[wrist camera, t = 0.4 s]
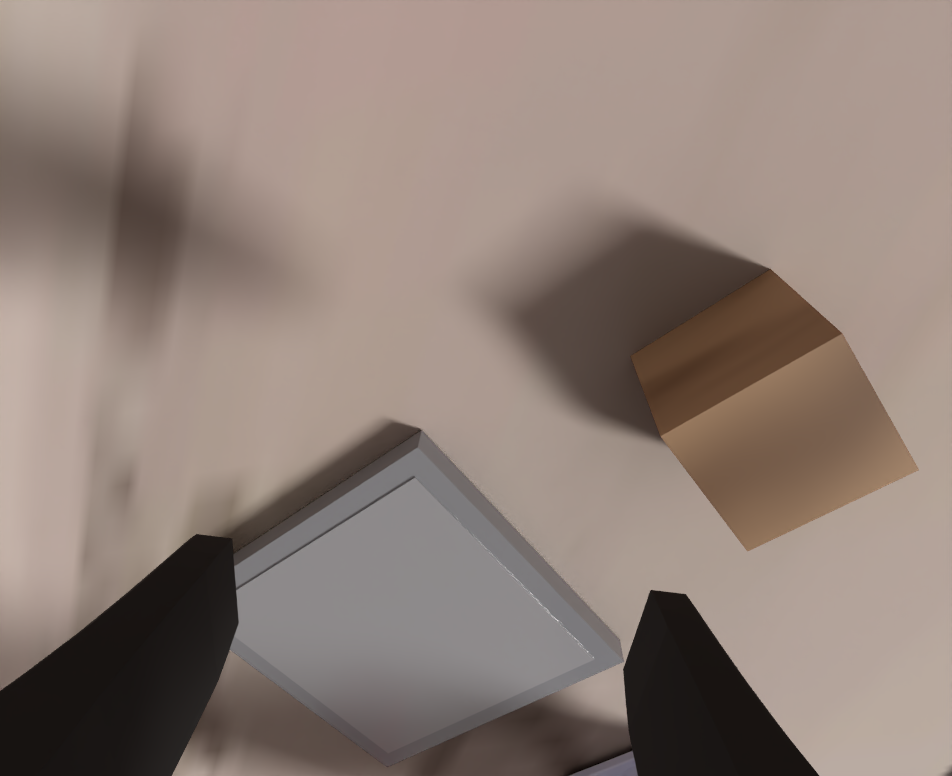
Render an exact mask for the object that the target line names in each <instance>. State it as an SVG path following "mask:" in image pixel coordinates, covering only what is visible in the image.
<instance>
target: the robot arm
mask: <svg viewBox="0 0 952 776" xmlns="http://www.w3.org/2000/svg"><path fill="white" fill-rule="evenodd" d="M238 624H239V619H238V607H237V594H236V582H235V569H234V557H233V545H232V539H231V538H223V537H215V536H207V535H199V534H196V535H195V536H193V537H192V538H190V539H189V540H188V541H187V542H186V543H184V544H183V545H182V546H181V547H180V548H179V549H177V550H176V551H175V552H174V553H173V554H172V555H171V556H169V557H168V558H167V559H166V560H165V561H164V562H163V563H161V564H160V565H159V566H158V567H157V568H156V569H154V570H153V571H152V572H151V573H150V574H149V575H148V576H146V577H145V578H144V579H143V580H142V581H140V582H139V583H138V584H137V585H136V586H135V587H133V588H132V589H131V590H130V591H129V592H128V593H126V594H125V595H124V596H123V597H122V598H120V599H119V600H118V601H117V602H115V603H114V604H113V605H112V606H111V607H109V608H108V609H107V610H106V611H104V612H103V613H102V614H101V615H100V616H98V617H97V618H96V619H95V620H93V621H92V622H91V623H90V624H89V625H87V626H86V627H85V628H84V629H82V630H81V631H80V632H79V633H77V634H76V635H75V636H73V637H72V638H71V639H70V640H68V641H67V642H66V643H64V644H63V645H62V646H60V647H59V648H58V649H56V650H55V651H54V652H52V653H51V654H50V655H48V656H47V657H46V658H44V659H43V660H42V661H40V662H39V663H38V664H36V665H35V666H34V667H32V668H31V669H30V670H28V671H27V672H26V673H24V674H23V675H22V676H20V677H19V678H18V679H16V680H15V681H13V682H12V683H11V684H9V685H8V686H6V687H5V688H3V689H2V690H1V691H0V776H172V774H173V772H174V770H175V768H176V766H177V764H178V762H179V760H180V758H181V756H182V754H183V752H184V750H185V748H186V746H187V744H188V742H189V740H190V738H191V736H192V734H193V732H194V730H195V728H196V726H197V724H198V721H199V719H200V717H201V715H202V713H203V711H204V709H205V707H206V705H207V703H208V701H209V699H210V697H211V695H212V693H213V691H214V688H215V686H216V684H217V682H218V680H219V677H220V674H221V672H222V669H223V666H224V664H225V661H226V658H227V655H228V653H229V650H230V647H231V644H232V641H233V638H234V635H235V632H236V630H237V627H238ZM623 671H624V684H625V696H626V708H627V718H628V728H629V734H630V739H631V745H632V750H633V751H630V752H628V753H625V754H623V755H620V756H618V757H615V758H613V759H610V760H608V761H605V762H602V763H600V764H597V765H595V766H592V767H590V768H587V769H585V770H582V771H579V772H577V773H574V774H572V775H569V776H819V775H818V774H817V772H816V771H815V770H814V769H813V767H812V766H811V765H810V764H809V762H808V761H807V760H806V759H805V757H804V756H803V755H802V754H801V753H800V751H799V750H798V749H797V748H796V746H795V745H794V744H793V743H792V741H791V740H790V739H789V737H788V736H787V735H786V734H785V732H784V731H783V730H782V728H781V727H780V726H779V725H778V723H777V722H776V721H775V719H774V718H773V717H772V715H771V714H770V713H769V711H768V710H767V708H766V707H765V706H764V704H763V703H762V702H761V700H760V699H759V698H758V696H757V695H756V694H755V692H754V691H753V690H752V688H751V687H750V686H749V684H748V683H747V681H746V680H745V679H744V677H743V676H742V674H741V673H740V672H739V670H738V669H737V667H736V666H735V665H734V663H733V662H732V660H731V659H730V657H729V656H728V655H727V653H726V652H725V650H724V649H723V647H722V646H721V644H720V643H719V642H718V640H717V639H716V637H715V636H714V634H713V633H712V631H711V630H710V628H709V627H708V625H707V624H706V623H705V621H704V620H703V618H702V617H701V615H700V614H699V612H698V611H697V609H696V608H695V607H694V605H693V604H692V602H691V601H690V599H689V598H688V597H687V595H686V594H679V593H671V592H663V591H655V590H650V593H649V596H648V599H647V602H646V605H645V608H644V611H643V614H642V617H641V620H640V622H639V625H638V628H637V631H636V634H635V637H634V640H633V643H632V646H631V649H630V651H629V654H628V657H627V660H626V663H625V666H624V669H623Z"/></svg>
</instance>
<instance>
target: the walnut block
mask: <svg viewBox="0 0 952 776" xmlns="http://www.w3.org/2000/svg"><path fill="white" fill-rule="evenodd" d="M630 357H631V359H632V362H633V365H634V367H635V370H636V373H637V375H638V378H639V381H640V383H641V386H642V389H643V391H644V394H645V397H646V399H647V402H648V405H649V407H650V410H651V412H652V415H653V418H654V420H655V423H656V426H657V428H658V431H659V434H660V436H661V438H662V439H663V440H664V442H665V443H666V444H667V446H668V447H669V448H670V450H671V451H672V452H673V454H674V455H675V456H676V458H677V459H678V460H679V462H680V463H681V464H682V465H683V467H684V468H685V469H686V471H687V472H688V473H689V475H690V476H691V477H692V479H693V480H694V481H695V483H696V484H697V485H698V487H699V488H700V489H701V491H702V492H703V493H704V495H705V496H706V497H707V499H708V500H709V501H710V503H711V504H712V505H713V506H714V508H715V509H716V510H717V512H718V513H719V514H720V516H721V517H722V518H723V520H724V521H725V522H726V524H727V525H728V526H729V528H730V529H731V530H732V532H733V533H734V534H735V536H736V537H737V538H738V540H739V541H740V542H741V544H742V545H743V546H744V547H745V549H746V550H747V551H750V550H752V549H754V548H756V547H758V546H760V545H762V544H764V543H766V542H768V541H771V540H773V539H775V538H777V537H779V536H781V535H783V534H785V533H787V532H789V531H792V530H794V529H796V528H798V527H800V526H802V525H804V524H806V523H808V522H810V521H813V520H815V519H817V518H819V517H821V516H823V515H825V514H827V513H829V512H832V511H834V510H836V509H838V508H840V507H842V506H844V505H846V504H848V503H850V502H853V501H855V500H857V499H859V498H861V497H863V496H865V495H867V494H869V493H871V492H874V491H876V490H878V489H880V488H882V487H884V486H886V485H888V484H890V483H892V482H895V481H897V480H899V479H901V478H903V477H905V476H907V475H909V474H911V473H913V472H916V471H918V470H919V469H918V467H917V465H916V464H915V462H914V460H913V458H912V456H911V455H910V453H909V451H908V449H907V448H906V446H905V444H904V442H903V440H902V439H901V437H900V435H899V433H898V432H897V430H896V428H895V426H894V424H893V423H892V421H891V419H890V417H889V416H888V414H887V412H886V410H885V408H884V407H883V405H882V403H881V401H880V400H879V398H878V396H877V394H876V392H875V391H874V389H873V387H872V385H871V384H870V382H869V380H868V378H867V376H866V375H865V373H864V371H863V369H862V368H861V366H860V364H859V362H858V360H857V359H856V357H855V355H854V353H853V352H852V350H851V348H850V346H849V344H848V343H847V341H846V339H845V337H844V336H843V334H842V333H841V332H840V331H839V330H838V329H837V328H836V327H835V326H833V325H832V324H831V323H830V322H829V321H828V320H827V319H826V318H825V317H823V316H822V315H821V314H820V313H819V312H818V311H817V310H816V309H815V308H813V307H812V306H811V305H810V304H809V303H808V302H807V301H806V300H804V299H803V298H802V297H801V296H800V295H799V294H798V293H797V292H796V291H794V290H793V289H792V288H791V287H790V286H789V285H788V284H787V283H786V282H784V281H783V280H782V279H781V278H780V277H779V276H778V275H777V274H776V273H774V272H773V271H772V270H771V269H770V270H768V271H766V272H765V273H763V274H762V275H760V276H758V277H757V278H755V279H754V280H752V281H750V282H749V283H747V284H746V285H744V286H742V287H741V288H739V289H738V290H736V291H734V292H733V293H731V294H730V295H728V296H726V297H725V298H723V299H721V300H720V301H718V302H717V303H715V304H713V305H712V306H710V307H709V308H707V309H705V310H704V311H702V312H701V313H699V314H697V315H696V316H694V317H693V318H691V319H689V320H688V321H686V322H685V323H683V324H681V325H680V326H678V327H676V328H675V329H673V330H672V331H670V332H668V333H667V334H665V335H664V336H662V337H660V338H659V339H657V340H656V341H654V342H652V343H651V344H649V345H648V346H646V347H644V348H643V349H641V350H639V351H638V352H636V353H635V354H633V355H631V356H630Z"/></svg>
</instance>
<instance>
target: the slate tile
mask: <svg viewBox="0 0 952 776" xmlns="http://www.w3.org/2000/svg"><path fill="white" fill-rule="evenodd" d="M233 557H234V569H235V582H236V594H237V607H238V619H239V624H238V627H237V630H236V632H235V635H234V638H233V641H232V644H231V647H230V650H231V651H232V652H234V653H235V654H236V655H238V656H239V657H240V658H242V659H243V660H244V661H246V662H247V663H248V664H250V665H251V666H252V667H254V668H255V669H256V670H258V671H259V672H260V673H262V674H263V675H264V676H266V677H267V678H268V679H270V680H271V681H272V682H274V683H275V684H276V685H278V686H279V687H281V688H282V689H283V690H285V691H286V692H287V693H289V694H290V695H291V696H293V697H294V698H295V699H297V700H298V701H299V702H301V703H302V704H303V705H305V706H306V707H307V708H309V709H310V710H311V711H313V712H314V713H315V714H317V715H318V716H319V717H321V718H322V719H323V720H325V721H326V722H327V723H329V724H330V725H331V726H333V727H334V728H335V729H337V730H338V731H339V732H341V733H342V734H343V735H345V736H346V737H347V738H349V739H350V740H351V741H353V742H354V743H355V744H357V745H358V746H359V747H361V748H362V749H363V750H365V751H366V752H367V753H369V754H370V755H371V756H373V757H374V758H375V759H377V760H378V761H379V762H381V763H382V764H383V765H385V766H386V767H389V766H391V765H393V764H395V763H398V762H400V761H402V760H404V759H407V758H409V757H411V756H413V755H416V754H418V753H420V752H422V751H425V750H427V749H429V748H431V747H434V746H436V745H438V744H440V743H442V742H445V741H447V740H449V739H451V738H454V737H456V736H458V735H460V734H463V733H465V732H467V731H469V730H472V729H474V728H476V727H478V726H481V725H483V724H485V723H487V722H490V721H492V720H494V719H496V718H499V717H501V716H503V715H505V714H507V713H510V712H512V711H514V710H516V709H519V708H521V707H523V706H525V705H528V704H530V703H532V702H534V701H537V700H539V699H541V698H543V697H546V696H548V695H550V694H552V693H555V692H557V691H559V690H561V689H564V688H566V687H568V686H570V685H572V684H575V683H577V682H579V681H581V680H584V679H586V678H588V677H590V676H593V675H595V674H597V673H599V672H602V671H604V670H606V669H608V668H611V667H613V666H615V665H617V664H620V663H622V662H624V660H623V654H622V649H621V643H620V639H619V638H618V637H617V636H616V635H615V634H614V633H613V632H612V631H611V630H610V629H609V628H608V627H607V626H606V625H605V624H604V622H603V621H602V620H601V619H600V618H599V617H598V616H597V615H596V614H595V613H594V612H593V611H592V610H591V609H590V608H589V607H588V606H587V604H586V603H585V602H584V601H583V600H582V599H581V598H580V597H579V596H578V595H577V594H576V593H575V592H574V591H573V590H572V589H571V588H570V586H569V585H568V584H567V583H566V582H565V581H564V580H563V579H562V578H561V577H560V576H559V575H558V574H557V573H556V572H555V571H554V570H553V568H552V567H551V566H550V565H549V564H548V563H547V562H546V561H545V560H544V559H543V558H542V557H541V556H540V555H539V554H538V553H537V552H536V550H535V549H534V548H533V547H532V546H531V545H530V544H529V543H528V542H527V541H526V540H525V539H524V538H523V537H522V536H521V535H520V534H519V532H518V531H517V530H516V529H515V528H514V527H513V526H512V525H511V524H510V523H509V522H508V521H507V520H506V519H505V518H504V517H503V516H502V514H501V513H500V512H499V511H498V510H497V509H496V508H495V507H494V506H493V505H492V504H491V503H490V502H489V501H488V500H487V499H486V498H485V496H484V495H483V494H482V493H481V492H480V491H479V490H478V489H477V488H476V487H475V486H474V485H473V484H472V483H471V482H470V481H469V480H468V478H467V477H466V476H465V475H464V474H463V473H462V472H461V471H460V470H459V469H458V468H457V467H456V466H455V465H454V464H453V463H452V462H451V460H450V459H449V458H448V457H447V456H446V455H445V454H444V453H443V452H442V451H441V450H440V449H439V448H438V447H437V446H436V445H435V444H434V442H433V441H432V440H431V439H430V438H429V437H428V436H427V435H426V434H425V433H424V432H423V431H422V430H421V431H419V432H418V433H416V434H415V435H413V436H412V437H410V438H409V439H407V440H406V441H404V442H403V443H401V444H400V445H398V446H397V447H395V448H394V449H392V450H391V451H389V452H388V453H386V454H385V455H383V456H382V457H380V458H379V459H377V460H375V461H374V462H372V463H371V464H369V465H368V466H366V467H365V468H363V469H362V470H360V471H359V472H357V473H356V474H354V475H353V476H351V477H350V478H348V479H347V480H345V481H344V482H342V483H341V484H339V485H338V486H336V487H335V488H333V489H331V490H330V491H328V492H327V493H325V494H324V495H322V496H321V497H319V498H318V499H316V500H315V501H313V502H312V503H310V504H309V505H307V506H306V507H304V508H303V509H301V510H300V511H298V512H297V513H295V514H294V515H292V516H291V517H289V518H287V519H286V520H284V521H283V522H281V523H280V524H278V525H277V526H275V527H274V528H272V529H271V530H269V531H268V532H266V533H265V534H263V535H262V536H260V537H259V538H257V539H256V540H254V541H253V542H251V543H250V544H248V545H247V546H245V547H243V548H242V549H240V550H239V551H237V552H236V553H234V554H233Z"/></svg>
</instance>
